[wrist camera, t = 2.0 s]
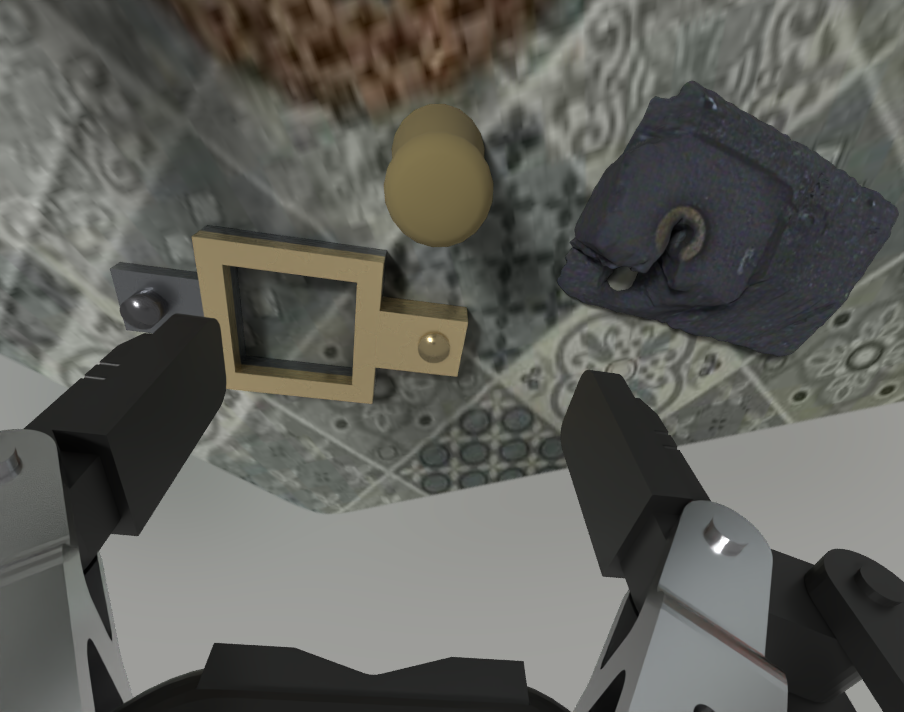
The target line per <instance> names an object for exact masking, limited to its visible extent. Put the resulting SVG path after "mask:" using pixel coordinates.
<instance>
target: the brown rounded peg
mask: <svg viewBox="0 0 904 712" xmlns="http://www.w3.org/2000/svg"><path fill="white" fill-rule="evenodd" d="M484 150H485V148H484V144H483V141H482V137H481V133H480V131H479V130H478V128H477V127H476V125H475V123H474V122H473V120H472V119H471V118H470V117H468V116H467V115H466V114H465V113H463V112H462V111H461V110H460V109H457V108H454V107H452V106H449V105H446V104H429V105H426V106H424V107H421V108H419V109H416V110H414V111H413V112H412V113H411V114H410V115H409V116H407V117H406V118H405V119H404V120H403V121H402V123H401V125H400V127H399V128H398V130H397V132H396V133H395V137H394V142H393V146H392V161H391V162H390V164H389V166H388V168H387V173H386V177H385V182H384V193H385V203H386V206H387V208H388V210H389V213H390V215H391V218H392V220H393V221H394V222H395V224H396V225H397V226H398V227H399V228H400V230H401V231H402V232H403V233H404V234H405V235H407V236H408V237H410V238H411V239H413V240H414V241H416V242H417V243H420V244H424V245H427V246H431V247H449V246H452V245H455V244H458V243H461V242H463V241H465V240H466V239H467V238H469V237H470V236H471V235H473V234H474V233H476V231H477V230H478V229H479V227H480V226H481V225H482V223H483V222H484V221H485V219H486V218H487V215H488V213H489V210H490V207H491V204H492V201H493V180H492V177H491V173H490V169H489V166H488V164H487V162H486V161H485V159H484Z"/></svg>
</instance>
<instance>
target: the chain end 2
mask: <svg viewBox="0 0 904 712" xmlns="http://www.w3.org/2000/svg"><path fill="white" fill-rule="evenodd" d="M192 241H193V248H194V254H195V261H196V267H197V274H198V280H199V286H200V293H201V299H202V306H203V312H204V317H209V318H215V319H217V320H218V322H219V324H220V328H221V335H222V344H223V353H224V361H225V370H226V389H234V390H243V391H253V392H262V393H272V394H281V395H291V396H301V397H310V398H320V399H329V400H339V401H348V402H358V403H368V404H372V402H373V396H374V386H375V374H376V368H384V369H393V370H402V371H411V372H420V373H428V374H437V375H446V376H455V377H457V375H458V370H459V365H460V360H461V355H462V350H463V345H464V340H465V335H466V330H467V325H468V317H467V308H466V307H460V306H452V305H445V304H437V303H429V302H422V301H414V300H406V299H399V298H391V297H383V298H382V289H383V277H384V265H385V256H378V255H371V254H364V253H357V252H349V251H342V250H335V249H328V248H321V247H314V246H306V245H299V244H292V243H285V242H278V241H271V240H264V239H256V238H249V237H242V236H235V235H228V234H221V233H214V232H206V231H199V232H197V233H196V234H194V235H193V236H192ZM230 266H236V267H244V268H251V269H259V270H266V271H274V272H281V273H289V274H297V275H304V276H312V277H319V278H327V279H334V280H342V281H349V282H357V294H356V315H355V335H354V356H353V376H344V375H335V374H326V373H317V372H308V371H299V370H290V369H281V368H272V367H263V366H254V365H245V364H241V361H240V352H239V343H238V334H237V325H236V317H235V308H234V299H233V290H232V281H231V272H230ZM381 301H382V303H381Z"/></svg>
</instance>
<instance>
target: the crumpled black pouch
mask: <svg viewBox="0 0 904 712" xmlns="http://www.w3.org/2000/svg"><path fill="white" fill-rule="evenodd" d="M898 215H899V212H898V210H897V208H896V207H895V206H894V205H892V204H891V202H889V201H886V200H885V199H884V198H883V196H882V195H881V194H880V193H878V192H876V191H874V190H870V189H868V188H866V187H861V186H860V185H859V184H858V183H857V181H856V179H855V178H853V177H850V176H848V174H847V173H846V172H845V171H843V170H840V169H837V168H836V167H835V166H834V165H833V164H832V163H831V162H829V161H828V160H826V159H824V158H823V157H821V156H820V155H819V154H818V153H817V152H815V151H811V150H810V149H809V148H808V147H807V146H805V145H803V144H800V143H798V142H796V141H791V139H790V137H789V136H788V135H786V134H782V133H780V132H779V131H778V130H776V129H775V128H774V127H773V126H771V125H768V124H766V123H764V122H762V121H760V120H758V119H757V118H756V117H754V116H752V115H750V114H748V113H746V112H744V111H742V110H740V109H739V108H737V107H736V106H735V105H734V104H732V103H729V102H727V101H725V100H724V99H723V98H722V97H720V96H719V95H718V94H717V93H716V92H714V91H711V90H708V89H706V88H704V87H703V86H701V85H700V84H699V83H697V82H695V81H689V82H688V83H686V84H685V85H684V86H683V87H682V89H681V90H680V94H679V95H678V96H674V97H671V98H670V99H665V98H659V97H657V96H655V97H654V98H653V99H652V100H651V101H650V103H649V105H648V108H647V110H646V113H645V115H644V118H643V119H642V121H641V123H640V124H639V126H638V128H637V129H636V131H635V133H634V134H633V136H632V138H631V140H630V142H629V143H628V145H627V147H626V149H625V151H624V152H623V154H622V155H621V156H620V157H619V158H618V159H617V160H616V161H615V162H614V163H613V164H611V165H610V166H609V167H608V168H607V169H606V171H605V172H604V174H603V175H602V177H601V179H600V181H599V182H598V184H597V185H596V187H595V188H594V190H593V193H592V195H591V197H590V199H589V201H588V203H587V205H586V207H585V209H584V210H583V212H582V214H581V216H580V218H579V219H578V221H577V224H576V227H575V236H576V237H575V238H574V239H573V240H572V241H570V243H571V245H572V246H573V248H572V249H571V250H570V252H569V253H568V254H567V256H566V257H565V259H566V260H567V263H566V265H565V266H564V267H563V269H562V271H561V276H560V277H559V278H558V280H557V282H558V284H559V285H560V287H561V288H562V289H563V291H564V292H565V293H566V294H568V295H569V296H571V297H576V298H578V299H579V300H580V301H582V302H584V303H586V304H589V305H595V306H599V307H603V308H607V309H610V310H612V311H615V312H621V313H625V314H629V315H634V316H638V317H642V318H647V319H650V320H651V319H654V320H658V321H660V322H662V323H665V322H666V323H667V324H668V325H669V326H670V327H671V328H673V329H681V330H683V331H685V332H687V333H690V334H693V335H697V336H706V337H710V336H711V337H712V338H715V339H717V340H718V341H725V342H727V341H728V342H729V343H733V344H736V345H741V346H745V347H748V348H750V349H752V350H754V351H757V352H759V353H764V354H773V355H775V356H785V355H789V354H791V353H793V352H794V351H796V350H797V349H798V348H799V347H800V346H801V345H802V344H803V343H804V342H805V341H806V340H807V339H808V338H809V337H810V336H811V335H812V334H813V333H814V332H815V331H816V330H817V329H818V328H819V327H821V326H822V325H823V324H824V323H825V322H826V321H827V320H828V319H829V318H830V317H831V316H832V315H833V314H834V313H835V312H836V311H837V309H838V308H839V307H840V306H841V305H842V304H843V303H844V302H845V301H846V300H847V299H848V297H849V294H850V292H851V291H852V289H853V288H854V286H855V284H856V283H857V282H858V281H859V280H860V279H861V277H862V276H863V275H864V273H865V271H866V269H867V268H868V266H869V265H870V264H871V262H872V261H873V259H874V257H875V256H876V254H877V253H878V251H879V250H880V249H881V248H882V246H883V245H884V243H885V242H886V241H887V239H888V238H889V237H890V234H891V229H892V227H893V225H894V224H895V222H896V220H897V217H898ZM622 266H626V267H630V269H631V271H636V272H638V274H637V277H636V279H635V281H634V282H633V285H632V287H631V288H629V289H626V290H621V291H616V290H614V289H612V288H611V287H610V285H609V283H608V281H607V277H608V276H610V275H611V274H612V272H613V270H614V268H618V267H622Z"/></svg>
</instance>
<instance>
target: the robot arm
mask: <svg viewBox="0 0 904 712" xmlns="http://www.w3.org/2000/svg"><path fill="white" fill-rule="evenodd" d="M225 392H226V370H225V361H224V353H223V344H222V335H221V328H220V324H219V322H218V320H217V319H215V318H209V317H201V316H194V315H187V314H179V313H176V314H173V315H172V316H171V317H170V318H169V319H168V320H167V321H166V322H164V323H163V324H162V325H161V326H160V327H159V328H158V329H157V330H156V331H155V332H154V333H153V334H147V333H144V334H142V335H139V336H137V337H135V338H133V339H131V340H129V341H126V342H124V343H122V344H120V345H118V346H117V347H116V348H114V349H113V350H112V351H111V352H110V353H109V354H108V355H107V356H105V357H104V358H103V359H102V360H101V361H100V365H95V366H94V367H93V368H92V369H91V370H90V371H88V372H87V373H86V374H85V378H84V379H83V378H81V379H79V380H78V381H77V382H76V383H75V384H74V385H73V386H71V387H70V388H69V389H68V390H67V391H66V392H65V393H64V394H62V395H61V396H60V397H59V398H58V399H57V400H56V401H55V402H53V403H52V404H51V405H50V406H49V407H48V408H47V409H46V410H44V411H43V412H42V413H41V414H40V415H39V416H37V417H36V418H35V419H34V420H33V421H32V422H31V423H30V424H28V425H27V426H26V427H25V428H24V429H12V430H3V431H0V712H570V711H569V710H568V709H567V708H565V707H564V706H562V705H561V704H559V703H558V702H556V701H555V700H554V699H552V698H550V697H548V696H547V695H545V694H543V693H541V692H539V691H537V690H535V689H533V688H530V687H527V683H526V676H525V669H524V662H523V661H510V660H494V659H477V658H461V657H450V658H446V659H441V660H437V661H433V662H429V663H425V664H421V665H416V666H412V667H409V668H404V669H400V670H396V671H392V672H387V673H384V674H378V675H369V674H365V673H362V672H359V671H356V670H354V669H351V668H348V667H346V666H343V665H340V664H337V663H335V662H332V661H329V660H327V659H324V658H321V657H319V656H316V655H313V654H310V653H307V652H305V651H302V650H300V649H297V648H291V647H274V646H258V645H241V644H224V643H214V645H213V647H212V650H211V652H210V655H209V658H208V660H207V663H206V665H205V668H204V669H201V670H196V671H192V672H189V673H186V674H183V675H180V676H178V677H175V678H172V679H169V680H167V681H165V682H163V683H161V684H158V685H157V686H154V687H152V688H150V689H148V690H146V691H144V692H142V693H141V694H139V695H137V696H136V697H134V698H133V696H132V693H131V688H130V685H129V682H128V678H127V675H126V672H125V669H124V665H123V662H122V658H121V654H120V649H119V645H118V640H117V635H116V629H115V624H114V619H113V614H112V609H111V603H110V598H109V593H108V588H107V583H106V578H105V573H104V568H103V562H102V558H101V555H100V553H99V550H100V549H101V547H102V546H103V544H104V543H105V541H106V540H107V538H108V537H109V535H110V534H120V535H131V536H139V534H140V533H141V531H142V529H143V528H144V526H145V525H146V523H147V522H148V520H149V518H150V517H151V515H152V514H153V512H154V510H155V509H156V507H157V506H158V504H159V503H160V501H161V499H162V498H163V496H164V495H165V493H166V492H167V490H168V488H169V487H170V485H171V484H172V482H173V481H174V479H175V477H176V476H177V474H178V473H179V471H180V470H181V468H182V466H183V465H184V463H185V462H186V460H187V459H188V457H189V455H190V454H191V452H192V451H193V449H194V448H195V446H196V444H197V443H198V441H199V440H200V438H201V437H202V435H203V433H204V432H205V430H206V429H207V427H208V426H209V424H210V422H211V421H212V419H213V418H214V416H215V415H216V413H217V411H218V410H219V408H220V406H221V404H222V402H223V399H224V396H225ZM561 446H562V450H563V453H564V456H565V459H566V462H567V466H568V469H569V472H570V475H571V478H572V481H573V485H574V488H575V491H576V494H577V497H578V500H579V504H580V507H581V510H582V513H583V516H584V519H585V523H586V526H587V529H588V532H589V535H590V538H591V542H592V545H593V548H594V551H595V554H596V557H597V560H598V564H599V567H600V570H601V573H602V576H604V577H616V578H625V579H626V582H627V584H628V587H629V590H628V592H627V593H626V594H625V596H624V598H623V600H622V602H621V605H620V607H619V610H618V612H617V615H616V617H615V620H614V622H613V624H612V627H611V629H610V632H609V634H608V637H607V639H606V642H605V644H604V647H603V649H602V652H601V654H600V656H599V659H598V661H597V664H596V666H595V669H594V671H593V674H592V676H591V678H590V681H589V683H588V685H587V687H586V689H585V691H584V692H583V694H582V696H581V698H580V700H579V701H578V703H577V705H576V707H575V709H574V711H573V712H856V710H855V708H854V707H853V705H852V703H851V702H850V700H849V698H848V696H847V695H846V693H845V691H846V690H847V689H849V688H850V687H852V686H853V685H854V684H856V683H857V682H859V681H860V680H862V679H863V681H864V682H865V684H866V686H867V687H868V689H869V690H870V692H871V693H872V695H873V696H874V698H875V700H876V701H877V703H878V704H879V706H880V707H881V709H882V711H883V712H904V582H903V581H902V580H901V579H899V578H898V577H897V576H896V575H895V574H893V573H892V572H891V571H889V570H888V569H887V568H885V567H884V566H882V565H880V564H879V563H877V562H876V561H874V560H872V559H870V558H868V557H866V556H864V555H861V554H859V553H856V552H853V551H850V550H845V549H833V550H830V551H828V552H827V553H826V554H825V555H824V556H823V557H822V558H821V559H820V560H819V561H818V562H817V563H816V564H815V565H813V564H810V563H808V562H805V561H803V560H800V559H797V558H794V557H791V556H789V555H786V554H783V553H781V552H778V551H775V550H772V549H770V547H769V545H768V543H767V541H766V540H765V538H764V537H763V535H762V534H761V533H760V532H759V530H758V529H756V527H755V526H754V525H752V524H751V523H750V522H749V521H748V520H747V519H746V518H744V517H743V516H741V515H740V514H738V513H737V512H735V511H734V510H732V509H730V508H728V507H726V506H724V505H721V504H718V503H715V502H711V500H710V499H709V497H708V496H707V494H706V492H705V491H704V489H703V488H702V486H701V484H700V483H699V481H698V479H697V478H696V476H695V475H694V473H693V471H692V470H691V468H690V466H689V465H688V463H687V462H686V460H685V458H684V457H683V455H682V453H681V452H680V450H677V445H676V444H675V442H674V440H673V439H672V437H671V435H668V431H667V429H666V427H665V426H664V424H663V422H662V421H661V419H660V418H659V416H658V414H656V413H655V412H654V411H653V410H652V409H651V408H650V407H649V406H648V405H647V404H645V403H644V402H643V401H642V400H641V399H640V398H635V397H634V395H633V394H632V392H631V390H630V389H629V387H628V385H627V383H626V382H625V380H624V378H623V377H622V376H621V375H620V374H615V373H608V372H600V371H593V370H586V371H585V372H584V373H583V374H582V376H581V378H580V380H579V382H578V385H577V387H576V390H575V392H574V395H573V397H572V400H571V402H570V405H569V407H568V410H567V412H566V415H565V417H564V420H563V423H562V427H561Z"/></svg>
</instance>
